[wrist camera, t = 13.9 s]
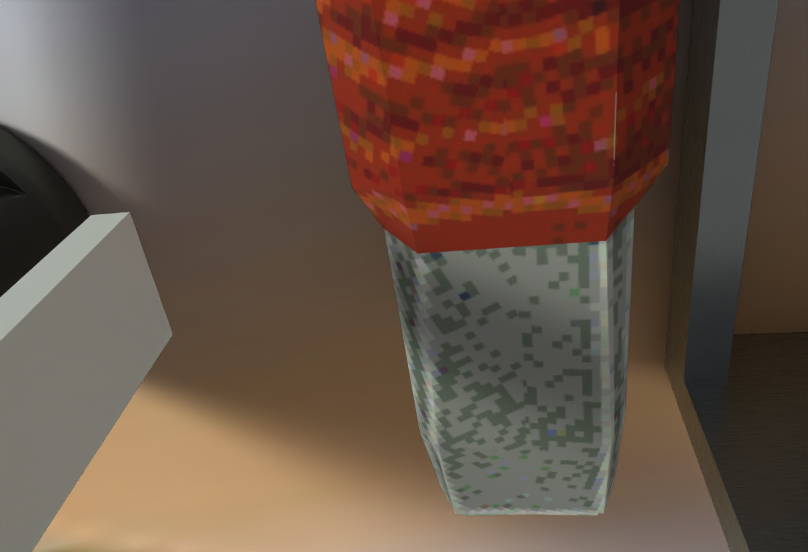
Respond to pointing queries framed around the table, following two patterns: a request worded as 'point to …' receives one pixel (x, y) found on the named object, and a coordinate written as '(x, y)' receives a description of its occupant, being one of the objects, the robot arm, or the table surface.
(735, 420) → the rack
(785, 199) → the table surface
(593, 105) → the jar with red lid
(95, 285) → the robot arm
